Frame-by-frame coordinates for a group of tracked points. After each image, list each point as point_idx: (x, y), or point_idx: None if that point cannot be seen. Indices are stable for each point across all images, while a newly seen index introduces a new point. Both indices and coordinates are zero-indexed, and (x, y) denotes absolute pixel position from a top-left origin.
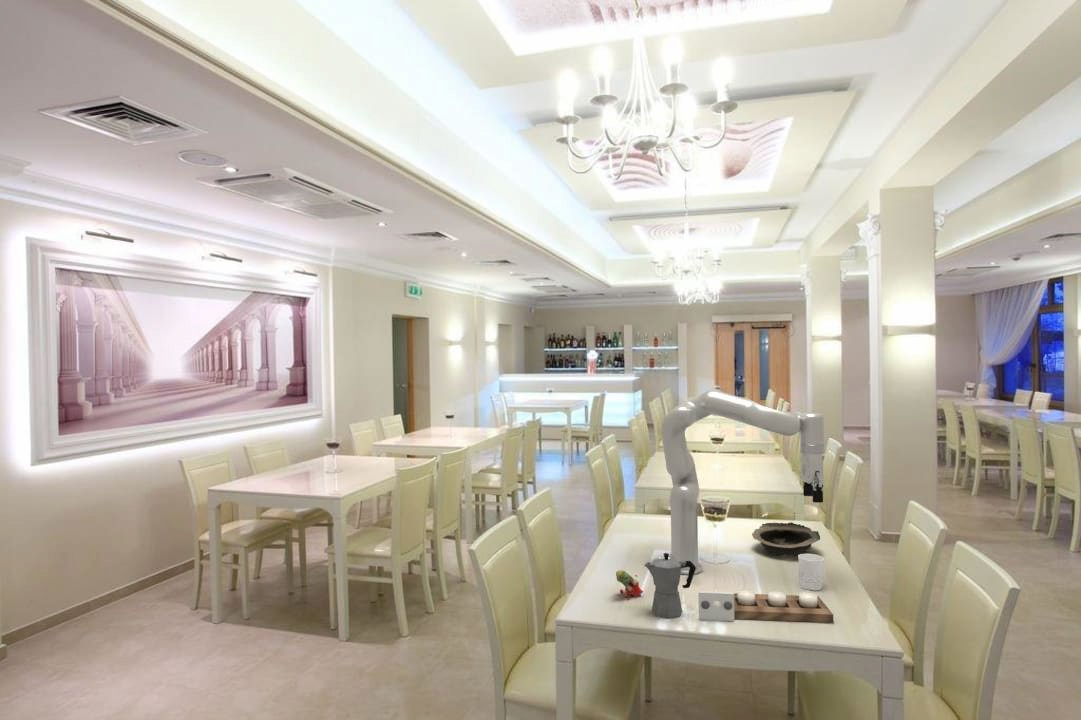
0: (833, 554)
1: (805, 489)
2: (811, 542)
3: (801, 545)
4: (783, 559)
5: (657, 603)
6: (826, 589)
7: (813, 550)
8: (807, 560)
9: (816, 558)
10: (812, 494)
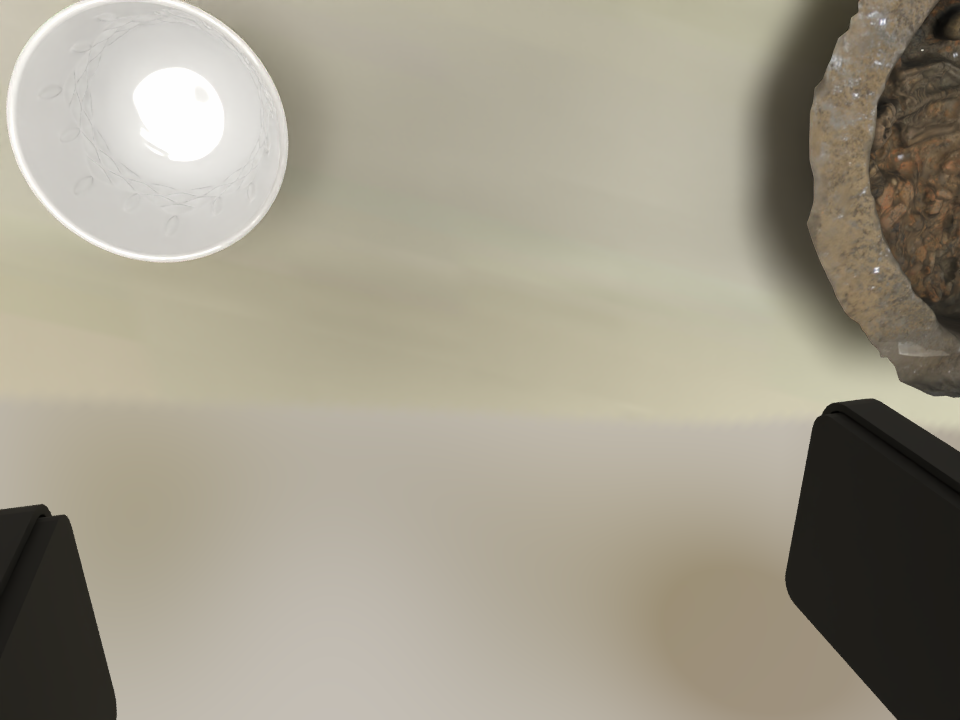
0: None
1: (942, 532)
2: (864, 308)
3: (830, 217)
4: (803, 60)
5: None
6: None
7: None
8: (17, 64)
9: (251, 209)
10: (803, 599)
